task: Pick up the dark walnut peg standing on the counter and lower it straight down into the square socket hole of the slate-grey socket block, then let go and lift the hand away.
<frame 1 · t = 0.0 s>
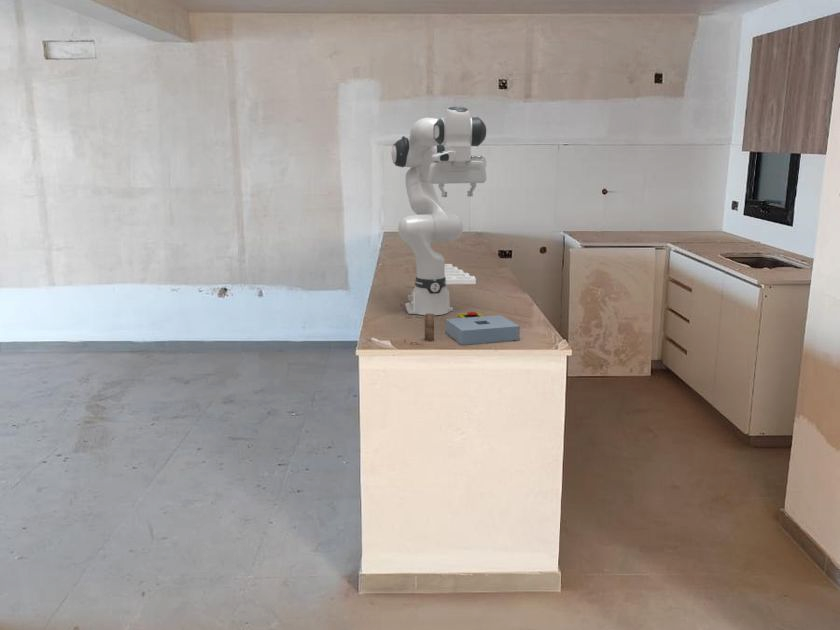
hand: (457, 196, 255), 48 cm above the countertop, tool pointing down, fingers open, 8 cm apart
holder: (454, 276, 374), on the countertop
socket block: (481, 336, 259), on the countertop
emergency button: (472, 325, 277), on the countertop
peg: (429, 339, 254), on the countertop
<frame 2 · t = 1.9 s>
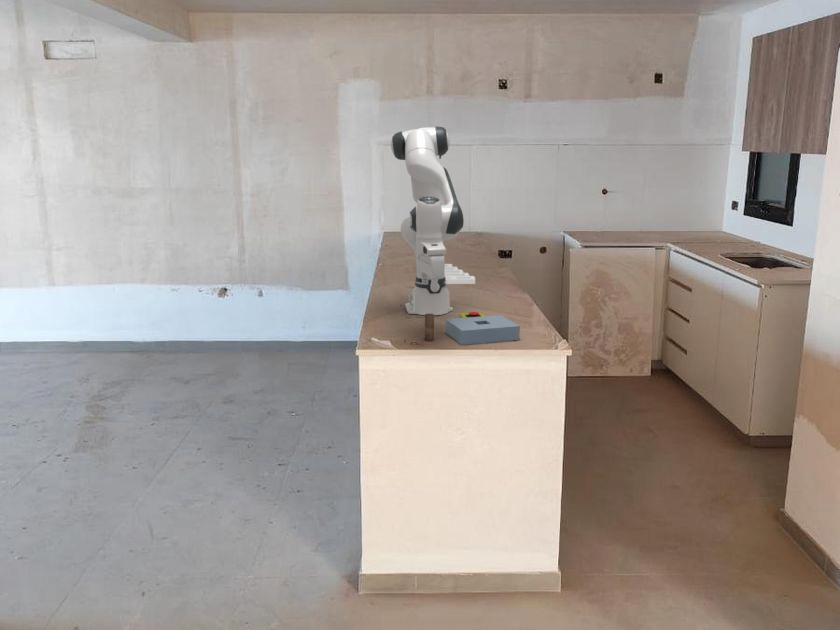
hand: (429, 286, 250), 19 cm above the countertop, tool pointing down, fingers open, 8 cm apart
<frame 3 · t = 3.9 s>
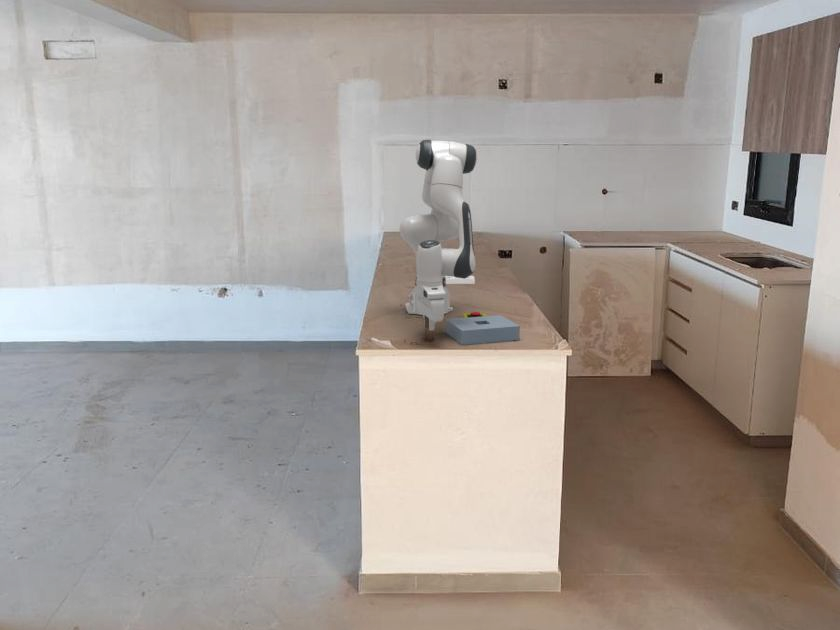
hand: (429, 328, 253), 4 cm above the countertop, tool pointing down, fingers closed on peg, 3 cm apart
peg: (429, 339, 254), on the countertop, touching gripper
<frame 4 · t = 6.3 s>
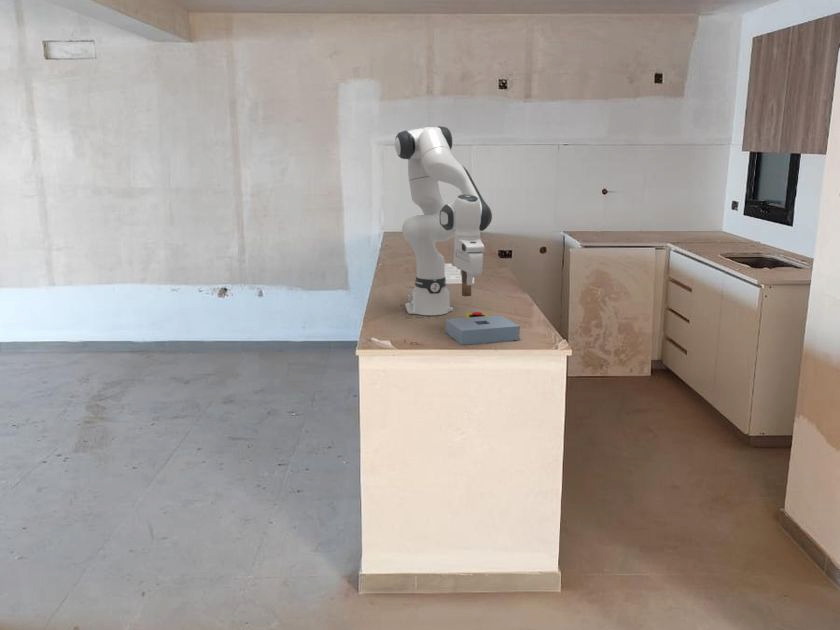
hand: (466, 283, 253), 19 cm above the countertop, tool pointing down, fingers closed on peg, 3 cm apart
peg: (466, 295, 254), point 15 cm above the countertop, touching gripper
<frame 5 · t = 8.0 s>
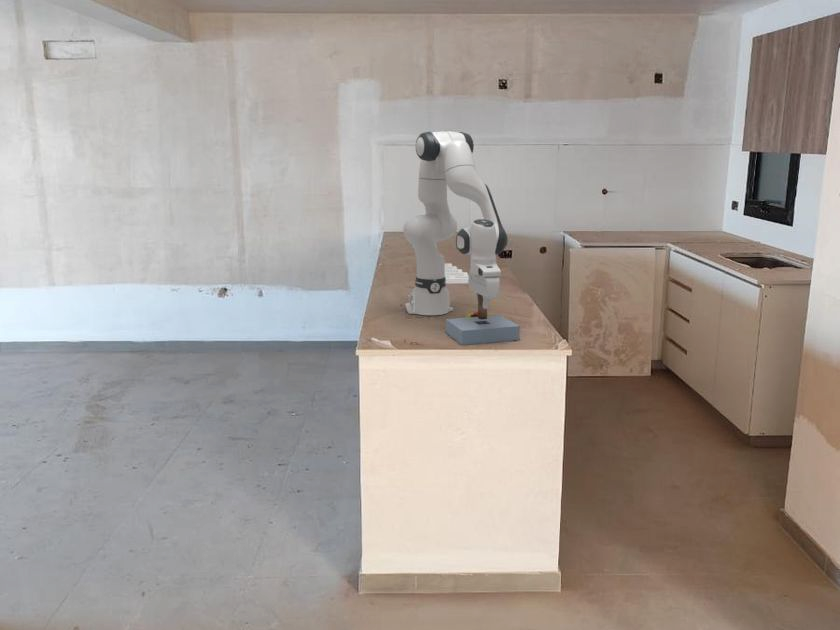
hand: (482, 306, 256), 11 cm above the countertop, tool pointing down, fingers closed on peg, 3 cm apart
peg: (482, 318, 257), point 7 cm above the countertop, touching gripper
when the fingers open (7 cm above the countertop, at t = 9.0 s): peg drops 3 cm, resting in socket block.
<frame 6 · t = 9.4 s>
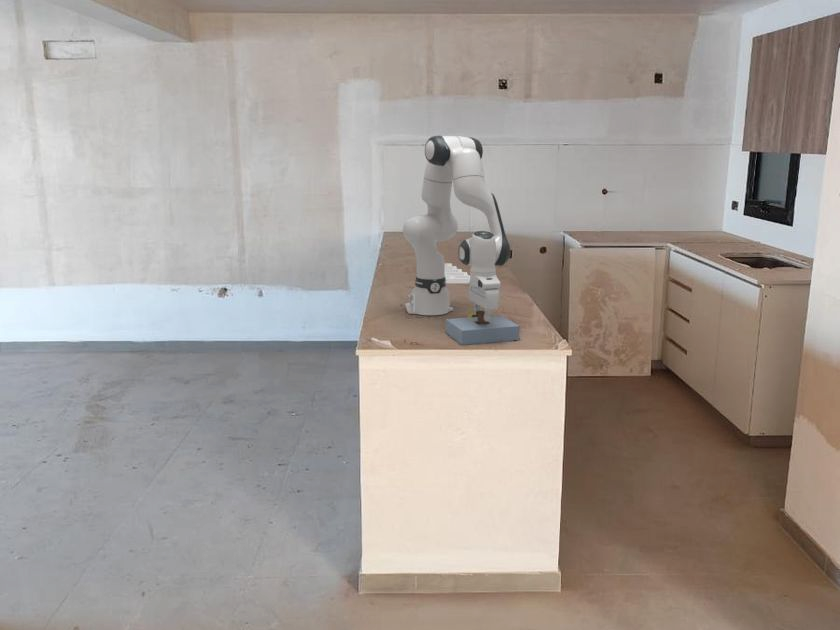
hand: (482, 318, 257), 7 cm above the countertop, tool pointing down, fingers open, 7 cm apart
peg: (481, 336, 259), resting in socket block
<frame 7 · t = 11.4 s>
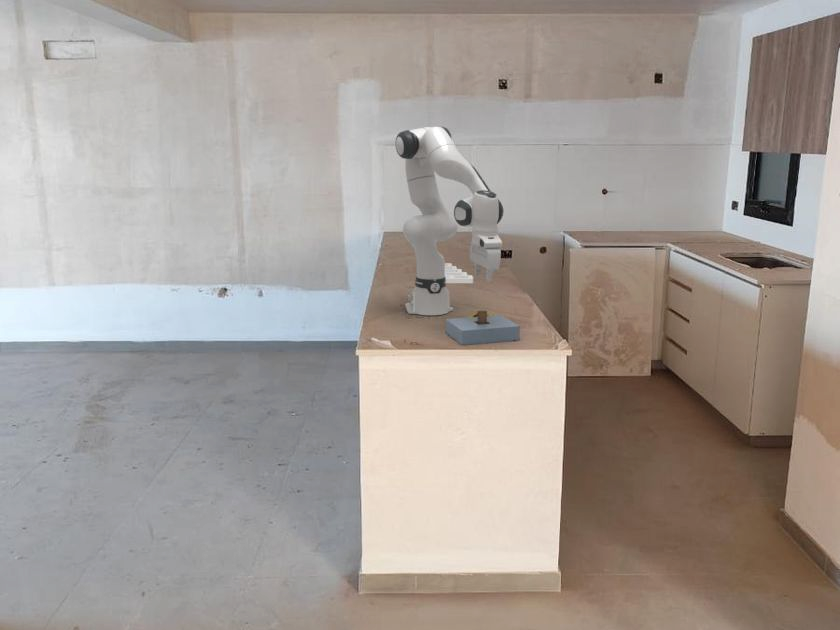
hand: (483, 278, 256), 20 cm above the countertop, tool pointing down, fingers open, 8 cm apart
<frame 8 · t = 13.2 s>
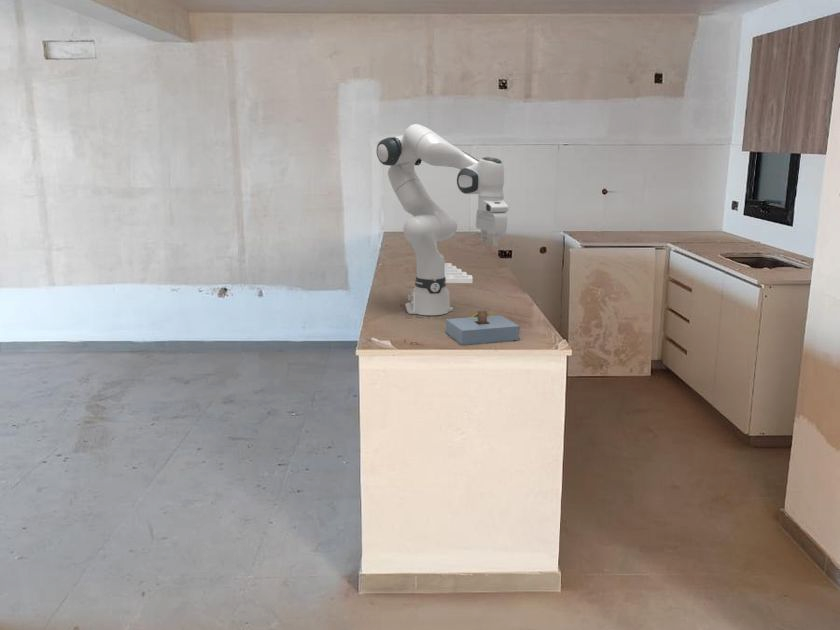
hand: (490, 244, 261), 31 cm above the countertop, tool pointing down, fingers open, 8 cm apart
at the end: peg 0.0 cm off-centre on the socket block, point 0.0 cm above the socket block's base; peg tilted 0°; the gripper is holding nothing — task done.
